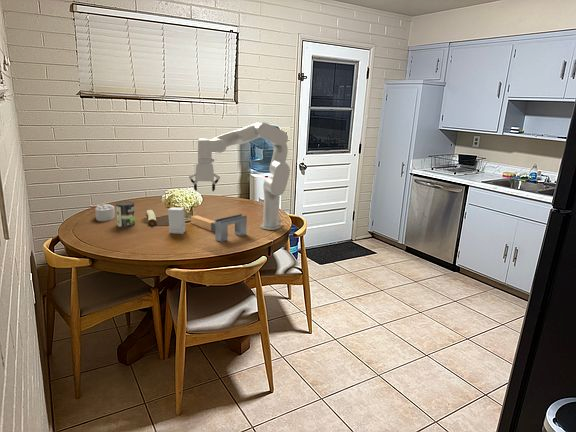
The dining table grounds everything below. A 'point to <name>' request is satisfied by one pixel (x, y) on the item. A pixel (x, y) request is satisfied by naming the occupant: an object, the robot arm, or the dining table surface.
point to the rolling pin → (151, 217)
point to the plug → (203, 223)
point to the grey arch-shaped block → (223, 223)
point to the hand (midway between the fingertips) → (204, 191)
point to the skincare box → (176, 220)
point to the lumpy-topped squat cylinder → (105, 212)
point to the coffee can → (125, 214)
